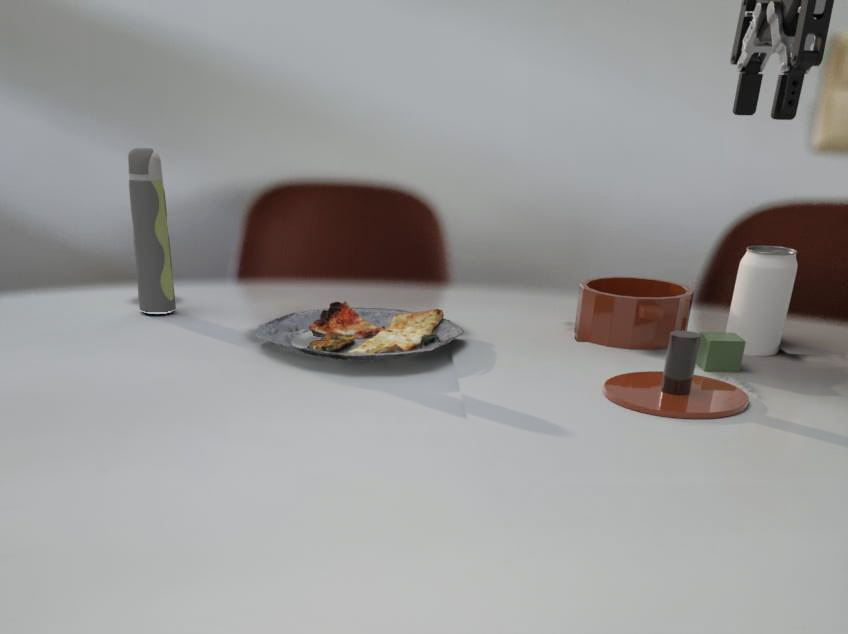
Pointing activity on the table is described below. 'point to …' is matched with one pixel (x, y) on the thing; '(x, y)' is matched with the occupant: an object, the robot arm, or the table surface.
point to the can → (762, 298)
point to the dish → (631, 312)
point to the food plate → (363, 332)
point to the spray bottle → (150, 231)
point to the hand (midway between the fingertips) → (761, 117)
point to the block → (720, 352)
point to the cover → (677, 386)
